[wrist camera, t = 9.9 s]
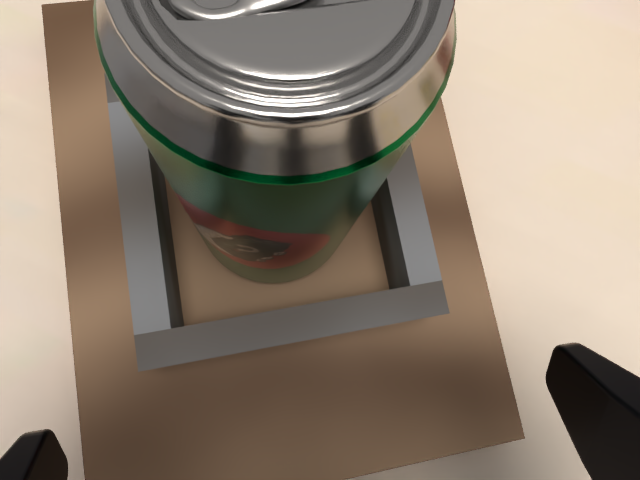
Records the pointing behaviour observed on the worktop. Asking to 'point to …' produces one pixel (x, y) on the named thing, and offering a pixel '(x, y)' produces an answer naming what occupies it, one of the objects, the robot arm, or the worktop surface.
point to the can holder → (264, 314)
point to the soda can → (276, 111)
